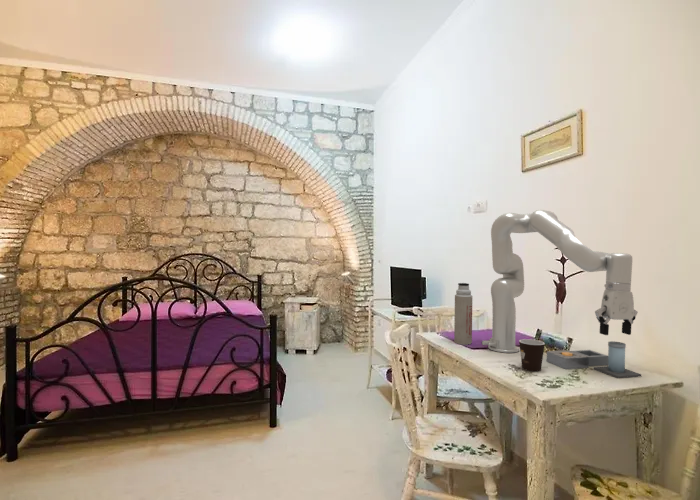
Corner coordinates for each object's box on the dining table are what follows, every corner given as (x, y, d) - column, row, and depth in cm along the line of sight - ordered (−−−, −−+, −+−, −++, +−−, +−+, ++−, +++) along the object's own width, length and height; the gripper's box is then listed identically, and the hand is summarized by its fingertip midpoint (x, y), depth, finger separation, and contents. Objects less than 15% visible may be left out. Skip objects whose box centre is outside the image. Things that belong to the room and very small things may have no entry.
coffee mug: (545, 373, 138) (546, 346, 138) (519, 370, 141) (519, 343, 141) (541, 364, 149) (542, 338, 149) (517, 362, 152) (517, 336, 152)
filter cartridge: (616, 373, 137) (617, 345, 137) (604, 368, 142) (604, 341, 142) (628, 372, 138) (629, 344, 138) (616, 368, 143) (616, 341, 143)
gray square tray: (588, 366, 148) (588, 357, 148) (570, 359, 156) (570, 350, 156) (608, 364, 149) (608, 355, 149) (589, 358, 158) (589, 349, 158)
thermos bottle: (475, 343, 180) (476, 283, 180) (462, 345, 177) (463, 284, 176) (463, 339, 187) (463, 282, 187) (450, 341, 184) (451, 282, 183)
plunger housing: (565, 369, 144) (565, 358, 144) (546, 361, 153) (546, 351, 153) (588, 367, 146) (588, 357, 146) (568, 359, 156) (568, 350, 155)
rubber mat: (617, 378, 134) (617, 376, 134) (593, 369, 144) (593, 367, 144) (641, 376, 136) (641, 374, 136) (616, 367, 146) (616, 365, 146)
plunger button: (566, 363, 147) (566, 354, 147) (559, 361, 151) (559, 352, 151) (574, 363, 148) (574, 354, 148) (567, 360, 152) (567, 351, 152)
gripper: (606, 288, 134) (603, 337, 135) (647, 288, 138) (644, 336, 139) (589, 285, 142) (586, 332, 142) (628, 286, 145) (625, 331, 146)
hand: (615, 334), depth 140 cm, fingers open, 9 cm apart
